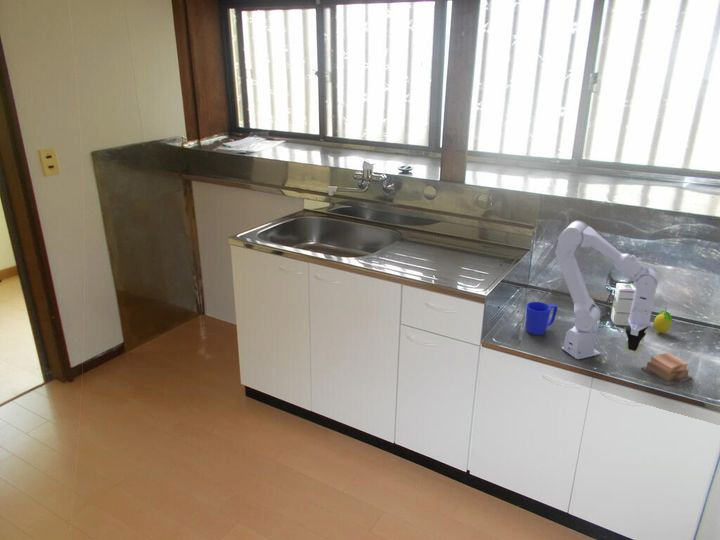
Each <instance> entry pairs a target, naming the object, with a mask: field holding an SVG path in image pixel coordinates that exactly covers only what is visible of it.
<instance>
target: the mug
mask: <svg viewBox="0 0 720 540" xmlns="http://www.w3.org/2000/svg"><path fill="white" fill-rule="evenodd" d="M552 309H553V310H552ZM551 310H552V314H551ZM525 312H526V313H525V331H526V332H527V333H528V334H531V335H534V336H542V335H544V334H545V333H546V331H547V327H548V326H551V325H552V324H553V323H554V321H555V319H556V315H557V312H558V306H557V305H556V304H552V305H549V304H547V303H546V302H541V301H531V302H528V303H526V310H525ZM550 314H551V317H550ZM550 318H551V319H550ZM549 319H550V320H549Z"/></svg>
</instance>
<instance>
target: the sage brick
mask: <svg viewBox="0 0 720 540" xmlns="http://www.w3.org/2000/svg"><path fill="white" fill-rule="evenodd" d="M644 340H645V338H644V337H643V338H642V339H641V341H640V343H639V345H638V347H637V349H636V351H633V350H629V349H628V337H626V339H625V343H624V347H623V348H624V349H623V352H624V353H625V352H626V353H629V354H633V355H636V356H640V354H641V353H642V352H641V351H642V349H643V346H644V345H643V343H644Z"/></svg>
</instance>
